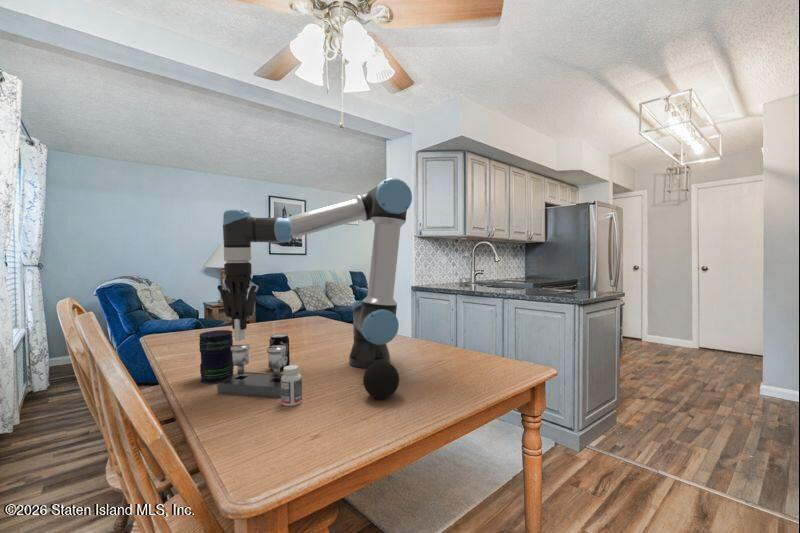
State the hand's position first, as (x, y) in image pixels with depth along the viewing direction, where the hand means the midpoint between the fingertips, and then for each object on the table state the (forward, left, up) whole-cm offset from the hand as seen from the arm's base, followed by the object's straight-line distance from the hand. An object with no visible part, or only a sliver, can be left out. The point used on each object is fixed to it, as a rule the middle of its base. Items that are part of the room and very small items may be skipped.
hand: (239, 340), depth 114 cm
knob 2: (-12, 0, -10) cm, 16 cm away
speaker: (-44, 0, -15) cm, 46 cm away
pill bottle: (-21, +8, -15) cm, 27 cm away
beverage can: (-2, -19, -15) cm, 24 cm away
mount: (-6, 0, -15) cm, 16 cm away
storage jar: (+13, -6, -15) cm, 21 cm away
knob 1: (0, 0, -10) cm, 10 cm away
